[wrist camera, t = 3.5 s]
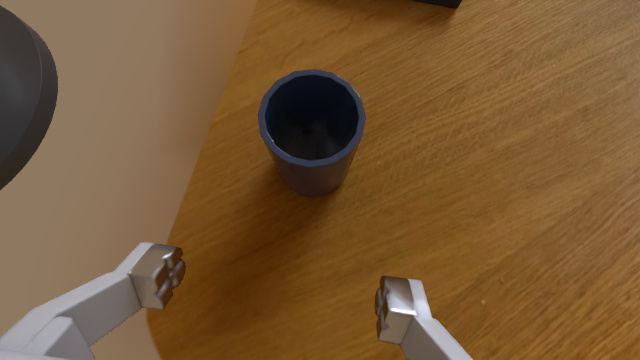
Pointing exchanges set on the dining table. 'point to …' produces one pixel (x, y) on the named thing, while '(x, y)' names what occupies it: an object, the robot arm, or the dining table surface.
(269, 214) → the dining table surface
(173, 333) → the dining table surface
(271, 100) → the cup
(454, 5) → the scale
